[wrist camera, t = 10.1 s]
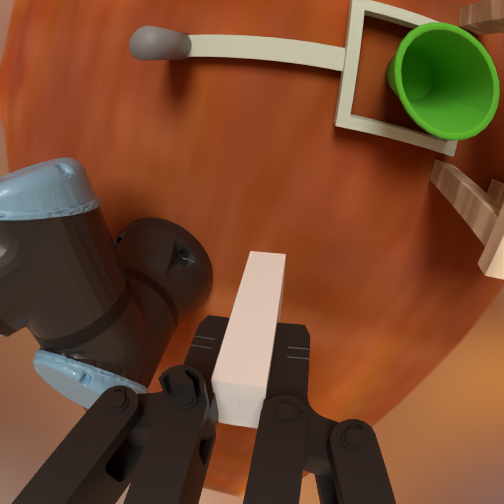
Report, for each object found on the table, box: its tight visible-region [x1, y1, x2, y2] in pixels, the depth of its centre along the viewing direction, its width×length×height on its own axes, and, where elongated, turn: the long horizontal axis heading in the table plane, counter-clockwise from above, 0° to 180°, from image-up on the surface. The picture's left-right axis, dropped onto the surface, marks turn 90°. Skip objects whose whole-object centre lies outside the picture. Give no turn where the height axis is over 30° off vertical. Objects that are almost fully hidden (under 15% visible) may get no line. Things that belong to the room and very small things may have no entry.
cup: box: [386, 22, 500, 141], centre depth 21 cm, size 9×9×11 cm
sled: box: [129, 0, 475, 157], centre depth 23 cm, size 31×13×8 cm, turn 85°
